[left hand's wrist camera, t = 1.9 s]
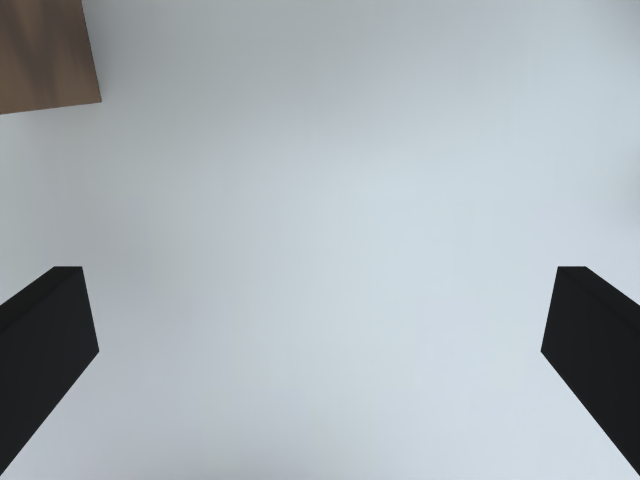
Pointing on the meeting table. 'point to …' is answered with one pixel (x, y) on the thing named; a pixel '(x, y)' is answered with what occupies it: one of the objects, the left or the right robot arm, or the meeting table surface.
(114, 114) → the meeting table surface
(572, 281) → the left robot arm
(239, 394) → the meeting table surface
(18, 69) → the box
